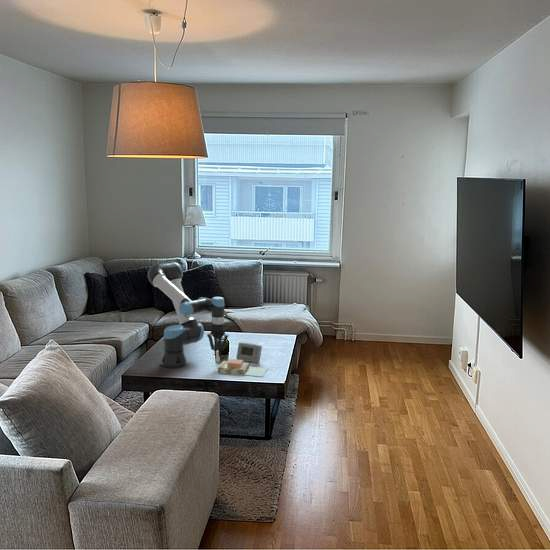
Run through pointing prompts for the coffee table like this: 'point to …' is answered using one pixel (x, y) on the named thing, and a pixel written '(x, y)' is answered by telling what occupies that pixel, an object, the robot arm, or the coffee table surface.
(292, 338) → the coffee table surface
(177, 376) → the coffee table surface
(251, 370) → the sage mat
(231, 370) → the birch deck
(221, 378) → the coffee table surface
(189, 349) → the coffee table surface
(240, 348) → the digital clock
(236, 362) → the terracotta tile
